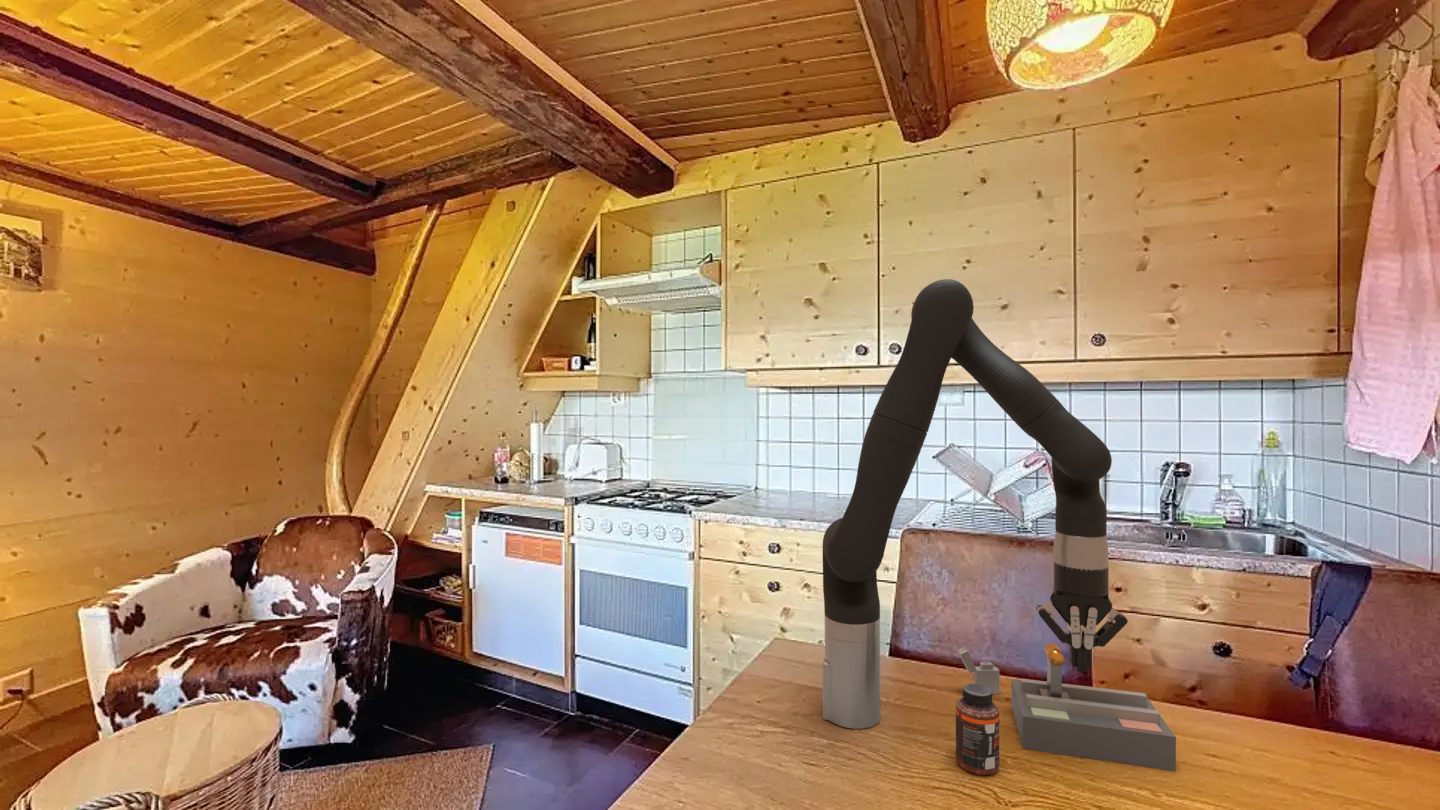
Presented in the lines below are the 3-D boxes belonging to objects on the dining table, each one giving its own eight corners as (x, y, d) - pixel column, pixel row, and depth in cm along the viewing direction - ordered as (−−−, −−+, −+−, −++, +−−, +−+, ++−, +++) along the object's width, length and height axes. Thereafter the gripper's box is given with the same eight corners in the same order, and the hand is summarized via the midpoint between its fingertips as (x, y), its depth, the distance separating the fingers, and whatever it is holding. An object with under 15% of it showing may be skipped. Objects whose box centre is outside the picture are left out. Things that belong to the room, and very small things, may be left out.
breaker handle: (1042, 704, 100) (1042, 651, 99) (1038, 692, 103) (1038, 641, 103) (1071, 707, 98) (1071, 654, 98) (1065, 695, 102) (1065, 644, 102)
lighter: (995, 689, 115) (995, 646, 115) (999, 694, 114) (999, 650, 114) (956, 689, 116) (956, 646, 115) (960, 694, 114) (960, 650, 114)
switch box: (1022, 748, 96) (1022, 706, 96) (1011, 707, 109) (1011, 669, 109) (1175, 771, 90) (1176, 726, 90) (1145, 725, 103) (1145, 685, 103)
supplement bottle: (1004, 779, 89) (1004, 700, 89) (959, 775, 90) (959, 697, 90) (994, 755, 95) (994, 681, 94) (952, 751, 96) (952, 678, 96)
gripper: (1038, 564, 98) (1038, 674, 98) (1136, 570, 94) (1136, 685, 94) (1030, 552, 105) (1030, 655, 105) (1121, 557, 101) (1121, 664, 101)
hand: (1080, 669), depth 100 cm, fingers closed
